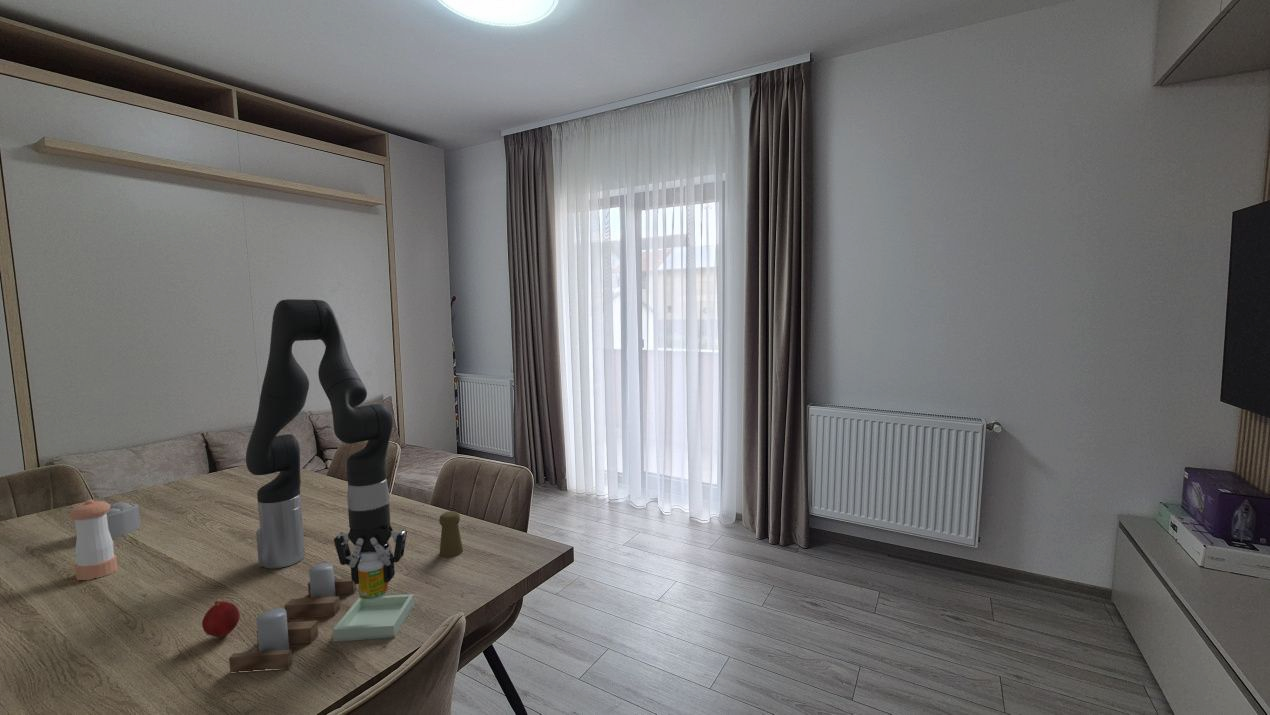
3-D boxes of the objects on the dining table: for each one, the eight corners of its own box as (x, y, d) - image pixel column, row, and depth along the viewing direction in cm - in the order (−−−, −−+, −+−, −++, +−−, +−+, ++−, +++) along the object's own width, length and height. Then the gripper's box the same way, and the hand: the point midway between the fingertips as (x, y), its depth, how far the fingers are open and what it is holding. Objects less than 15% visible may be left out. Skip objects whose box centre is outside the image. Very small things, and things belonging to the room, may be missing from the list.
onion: (218, 629, 107) (214, 592, 106) (247, 627, 107) (244, 590, 106) (196, 647, 101) (192, 608, 100) (227, 645, 101) (224, 606, 100)
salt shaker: (124, 568, 133) (116, 496, 131) (86, 583, 126) (78, 506, 124) (107, 564, 135) (99, 493, 134) (69, 578, 128) (60, 503, 127)
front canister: (254, 664, 96) (250, 623, 95) (269, 648, 100) (266, 609, 99) (280, 662, 96) (276, 621, 95) (294, 646, 100) (291, 607, 100)
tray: (333, 641, 102) (332, 629, 102) (360, 608, 113) (359, 597, 113) (394, 637, 103) (393, 625, 103) (414, 604, 114) (413, 594, 114)
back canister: (307, 608, 113) (304, 573, 113) (318, 597, 118) (315, 564, 117) (330, 606, 114) (327, 571, 113) (339, 595, 118) (336, 562, 118)
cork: (455, 558, 136) (453, 518, 135) (434, 556, 137) (432, 516, 136) (467, 548, 142) (465, 509, 141) (447, 546, 143) (445, 507, 142)
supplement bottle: (369, 605, 104) (366, 558, 103) (354, 597, 107) (351, 552, 106) (394, 592, 108) (391, 547, 108) (379, 585, 111) (376, 542, 110)
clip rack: (230, 673, 93) (229, 657, 93) (311, 593, 120) (310, 580, 120) (288, 669, 94) (287, 653, 94) (356, 590, 121) (355, 578, 120)
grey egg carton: (74, 538, 152) (71, 509, 152) (134, 522, 163) (131, 496, 163) (85, 546, 147) (81, 516, 146) (145, 529, 158) (143, 502, 157)
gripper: (322, 510, 102) (328, 593, 103) (398, 507, 103) (402, 589, 104) (341, 497, 109) (346, 574, 111) (411, 494, 110) (415, 570, 112)
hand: (373, 581), depth 107 cm, fingers closed on supplement bottle, 5 cm apart
